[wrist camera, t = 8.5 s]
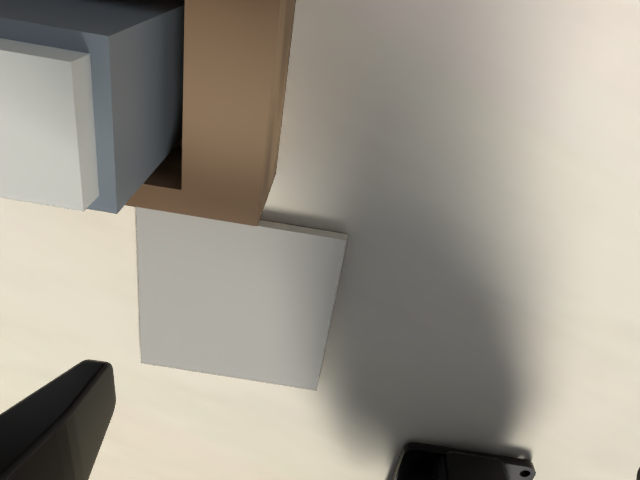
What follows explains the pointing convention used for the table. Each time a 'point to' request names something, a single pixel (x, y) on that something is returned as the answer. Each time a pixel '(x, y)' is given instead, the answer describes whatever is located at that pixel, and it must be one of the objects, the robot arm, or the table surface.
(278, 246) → the pad
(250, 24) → the socket block
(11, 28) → the plug
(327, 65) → the table surface
